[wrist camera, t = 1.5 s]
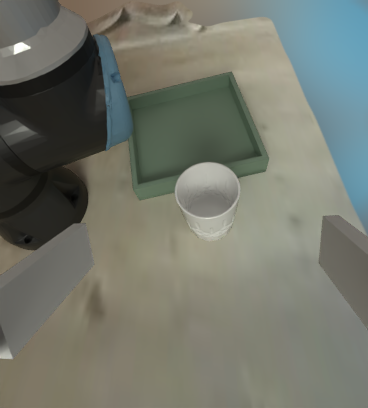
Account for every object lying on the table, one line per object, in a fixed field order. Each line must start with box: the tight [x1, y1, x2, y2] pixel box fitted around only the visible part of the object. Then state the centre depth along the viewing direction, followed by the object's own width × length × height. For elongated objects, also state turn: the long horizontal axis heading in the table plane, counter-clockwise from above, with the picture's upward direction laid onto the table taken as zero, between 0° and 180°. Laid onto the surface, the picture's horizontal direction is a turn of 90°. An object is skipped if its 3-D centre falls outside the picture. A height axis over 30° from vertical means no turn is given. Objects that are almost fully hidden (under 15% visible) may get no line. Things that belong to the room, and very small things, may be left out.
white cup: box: [175, 162, 240, 241], centre depth 35 cm, size 8×8×10 cm
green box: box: [127, 72, 269, 200], centre depth 46 cm, size 22×22×4 cm
